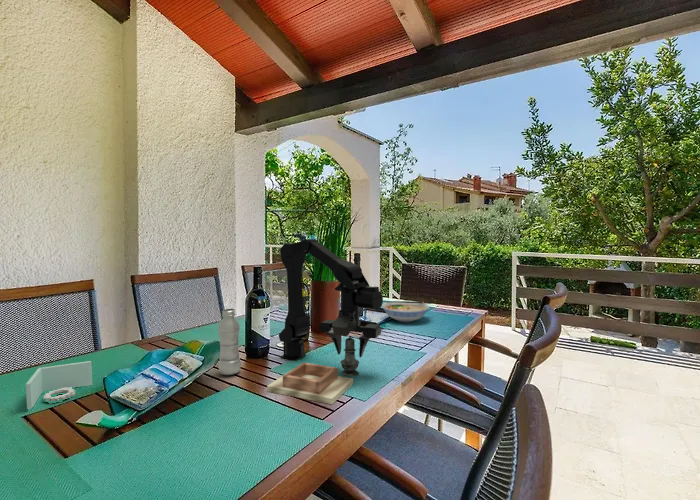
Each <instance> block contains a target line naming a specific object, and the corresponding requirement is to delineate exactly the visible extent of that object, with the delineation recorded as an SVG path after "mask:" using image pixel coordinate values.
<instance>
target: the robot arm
mask: <svg viewBox="0 0 700 500" xmlns="http://www.w3.org/2000/svg"><path fill="white" fill-rule="evenodd" d="M279 253H280V258H281V263H282V265H283V266H284V268H285V269H286V277H287V278H286V279H287V280H286V281H287V295H288V296H287V298H288V313H287V315H286V317H285V319H284V327H283V329H282V330H281V332H280V333H279V334H278V337H279V341H280V342H283V349H282V350H283V355H281V356H280V358H281V359H286V360H292V361H298V360H299V359H301V358H303V357H305V356H306V355H307V353H306V352H305V343H304V339H306V338H307V336H308V333H309V332H310V330H311V329H310V328H311V326H312V324H311V315H310V314H307V313H306V311H305V310H304V295H303V291H304V290H303V279H302V278H303V276H302V275H303V274H302V268H303V265H305V262H306V256H307V255H309V254H310V256H312V257H314V258H315V259H316V260H318V261H319V262H320V263H321V264H322V265H324V266H325V267H327V268H328V269H329V270H330V271H331V272H332V276H333V277H334V279H335V280H337V281H338V283H339V284H338V285H337V286H336V287H335V288H334V290H335V291H338V292H340V309H339V310H338V316H337V318H335V319H325V320H324V321H321V322H320V323H319V326H318V327H319V328H318V332H319V333H325V334H326V336H328V337H329V338H331V339H332V342H333V345H334V346H335V350H336V352H337V355H340V354H341V351H342V336H343V337H349V336H350V334H351V332H352V333H359V334H361V336H359V337H358V340H359V348H358V349H359V351H358V355H359V358H360V359H361V358H362V357H363V355H364V352H365V351H366V350H365V349H366V347H367V344H368V342H369V340H370V339H377V338H378V337H379V336H380V335H382V327H381V325H380V324H373V323H368V324H366V325H365V326H362V325H361V322H362V321H361V320H360V312H361V311H362V310H361V309H366V310H372V311H379V310H380V309H381V308H382V304H384V302H383V301H384V297H383V295H382V292H381V291H380V288H379V286H370V284H369V282H368V281H367V279H366V276H365V275H364V273H363V270H362V267H360V265H358V264H356V263H353V262H351V261H348V260H345V259H342V258H341V257H339V256H338V255H336V253H334V252H333V251H331V250H330V249H329V248H327V247H326V246H324V245H323V244H321V243H320V241H318V239H316V238H305V239H303V240H301V241H298V242H294V243H293V242H292V243H284V244H283V245H282V246H281V247H280V252H279Z"/></svg>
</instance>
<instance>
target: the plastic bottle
mask: <svg viewBox="0 0 700 500" xmlns="http://www.w3.org/2000/svg"><path fill="white" fill-rule="evenodd" d="M235 316H236V309H235V308H224V309H222V313H221V317H222V318H221V320H220V322H219V323H218V325H217V332H218V339H219V348H220V352H219V353H220V354H219V362H218V370H219V373H220V374H221V375H223V376H232V375H233V376H234V375H235V374H237V373H239V372H240V370H241V366H242V365H241V364H242V362H241V359H240V352H239V351H240V350H239V349H240V348H239V338H240V337H239V336H240V329H241V327H240V326H241V325H240V323H239V321H238V320H237V318H236V317H235Z"/></svg>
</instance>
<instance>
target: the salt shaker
mask: <svg viewBox="0 0 700 500" xmlns="http://www.w3.org/2000/svg"><path fill="white" fill-rule="evenodd" d="M344 342H345V344H344V345H345V346H344V349H343V351H344V358H343V359H342V360H340V364H341V368H342V369H343V370H342V371H341V375H342V376H343V377H355V376H358V375H359V371H358V370H357V369H358V368H359V367H358V366H359V364H360V361H359V360H358V359H356V351H357V350H356V348H355V339H354V338H353V337H352V336H351V335H348V338H346V339H345V341H344Z"/></svg>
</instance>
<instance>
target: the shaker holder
mask: <svg viewBox="0 0 700 500" xmlns="http://www.w3.org/2000/svg"><path fill="white" fill-rule="evenodd" d="M353 384H354V378H350V377H347V376H341V375H340V376H339V369H338V367H335V366H327V365H321V364H315V363H309V362H302V363H301V364H298V365H297V366H296V367H294V368H292V369H290V371H289V370H288V372H285V373H284V374H283V375H282V376H280V377H279V378H277V379H276V380H274V381H272V382H271V383H270V384H268V385H267V386H266V391H267V392H268V393H275V394H279V395H284V396H290V397H295V398H299V399H304V400H309V401H314V402H318V403H324V404H329V405H333V404H334V403H335V402H337V400H338V399H340V397H341V396H343V394H344V393H346V392H347V390H349V388H350V387H351V386H352V385H353Z"/></svg>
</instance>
